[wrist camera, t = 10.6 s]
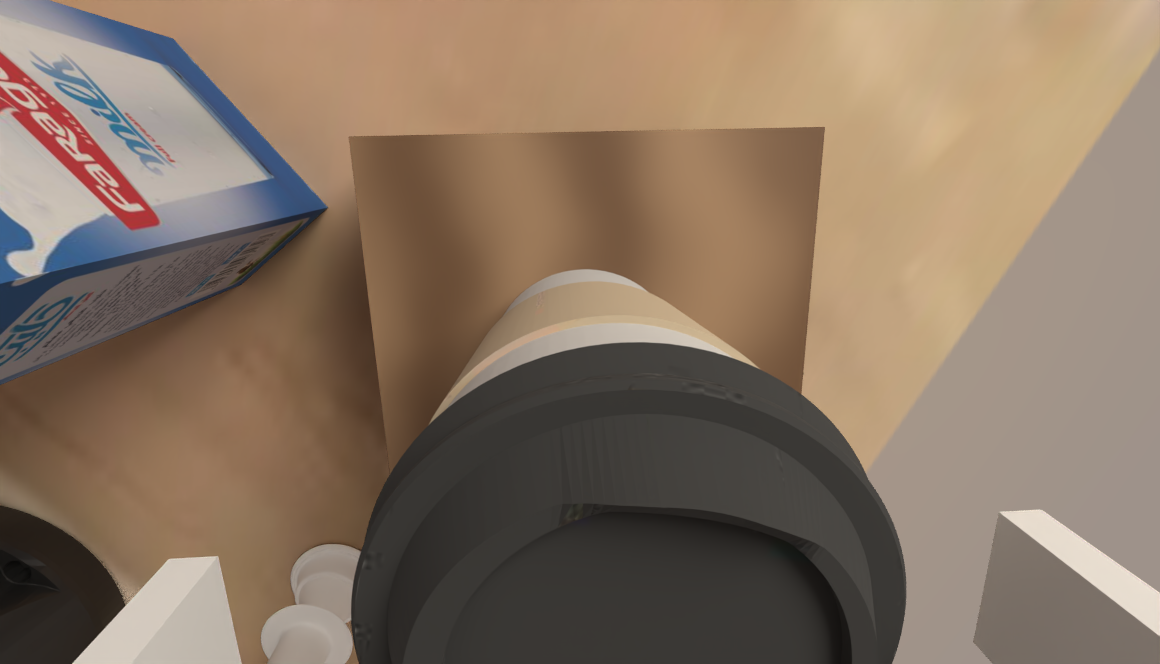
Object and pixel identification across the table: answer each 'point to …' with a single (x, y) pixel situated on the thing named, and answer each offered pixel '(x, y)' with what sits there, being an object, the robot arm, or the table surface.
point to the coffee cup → (625, 505)
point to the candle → (315, 610)
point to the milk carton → (122, 184)
